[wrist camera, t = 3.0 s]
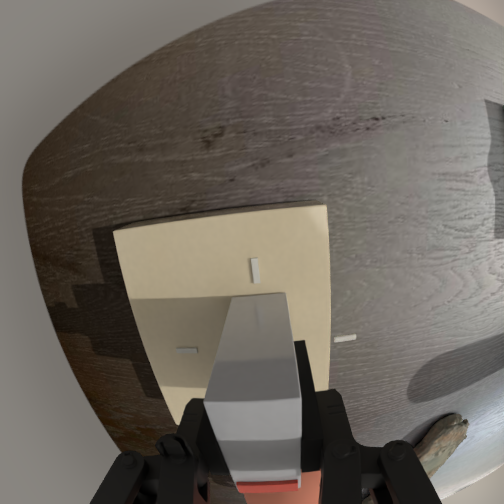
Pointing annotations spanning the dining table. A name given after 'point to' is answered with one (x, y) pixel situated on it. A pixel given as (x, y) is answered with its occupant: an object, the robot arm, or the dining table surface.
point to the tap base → (224, 285)
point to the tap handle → (257, 396)
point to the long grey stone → (438, 444)
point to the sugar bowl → (291, 492)
